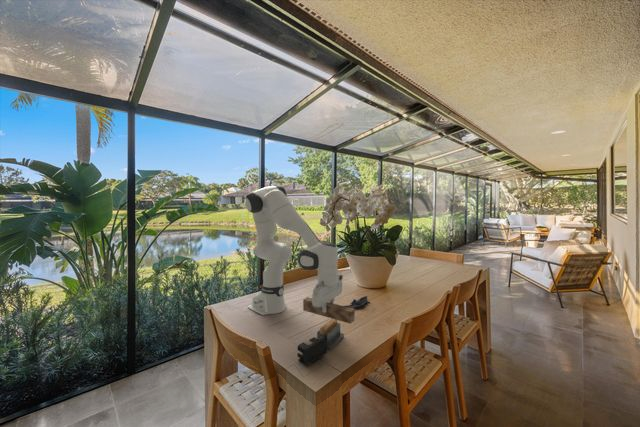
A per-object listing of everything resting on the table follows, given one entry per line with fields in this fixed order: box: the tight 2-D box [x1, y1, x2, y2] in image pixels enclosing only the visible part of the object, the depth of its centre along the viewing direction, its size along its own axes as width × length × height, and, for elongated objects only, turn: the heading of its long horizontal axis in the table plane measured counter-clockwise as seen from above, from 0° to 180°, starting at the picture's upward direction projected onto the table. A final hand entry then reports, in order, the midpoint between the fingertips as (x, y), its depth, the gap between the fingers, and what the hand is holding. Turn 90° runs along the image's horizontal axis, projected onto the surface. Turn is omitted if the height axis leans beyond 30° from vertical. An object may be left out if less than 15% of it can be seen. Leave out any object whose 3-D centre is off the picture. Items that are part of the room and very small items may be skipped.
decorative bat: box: [344, 295, 369, 309], centre depth 152 cm, size 30×4×10 cm
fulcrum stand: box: [316, 318, 345, 351], centre depth 114 cm, size 8×13×8 cm, turn 149°
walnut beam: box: [302, 296, 356, 324], centre depth 113 cm, size 24×4×5 cm, turn 58°
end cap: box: [297, 337, 328, 366], centre depth 101 cm, size 10×7×7 cm
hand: (327, 309), depth 113 cm, fingers closed on walnut beam, 3 cm apart
